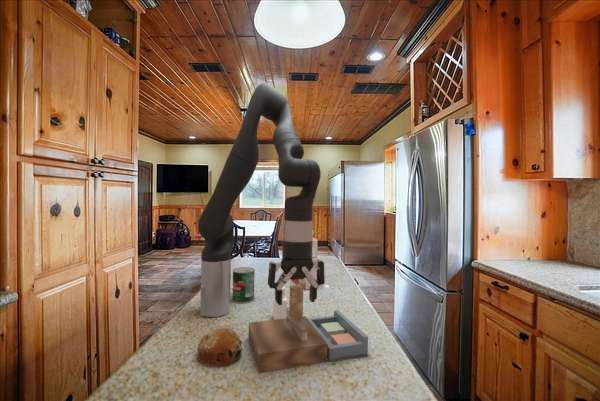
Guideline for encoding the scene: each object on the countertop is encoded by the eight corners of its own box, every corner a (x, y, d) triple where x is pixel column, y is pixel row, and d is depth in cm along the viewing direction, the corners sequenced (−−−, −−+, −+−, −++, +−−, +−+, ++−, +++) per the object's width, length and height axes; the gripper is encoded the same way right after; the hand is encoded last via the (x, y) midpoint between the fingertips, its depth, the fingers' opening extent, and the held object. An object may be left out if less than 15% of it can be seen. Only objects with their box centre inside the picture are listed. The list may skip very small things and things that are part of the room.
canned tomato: (228, 302, 103) (228, 271, 102) (238, 294, 110) (238, 266, 110) (248, 304, 101) (249, 273, 101) (257, 297, 108) (257, 267, 108)
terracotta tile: (357, 342, 71) (357, 348, 71) (348, 332, 76) (348, 338, 76) (339, 344, 70) (339, 351, 70) (330, 335, 75) (330, 341, 75)
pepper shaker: (274, 321, 88) (274, 290, 88) (272, 315, 92) (272, 286, 91) (287, 319, 89) (287, 289, 89) (284, 314, 93) (284, 285, 92)
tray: (329, 361, 67) (329, 342, 67) (305, 329, 83) (306, 313, 83) (367, 355, 70) (368, 336, 70) (337, 324, 86) (337, 309, 86)
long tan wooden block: (298, 343, 67) (299, 296, 67) (283, 318, 80) (284, 279, 80) (310, 341, 68) (310, 294, 68) (293, 317, 81) (293, 278, 81)
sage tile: (344, 329, 78) (344, 335, 78) (336, 321, 83) (336, 327, 83) (327, 331, 77) (327, 337, 77) (320, 323, 81) (320, 329, 81)
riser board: (258, 372, 62) (258, 354, 62) (248, 337, 77) (248, 322, 77) (327, 360, 67) (327, 343, 67) (304, 330, 82) (305, 316, 82)
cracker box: (290, 281, 129) (291, 234, 129) (302, 279, 132) (303, 234, 132) (304, 290, 117) (305, 239, 116) (317, 288, 119) (318, 238, 119)
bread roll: (229, 356, 75) (222, 325, 77) (254, 352, 69) (245, 318, 71) (194, 374, 67) (187, 338, 69) (218, 371, 61) (209, 332, 63)
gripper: (318, 236, 78) (317, 295, 78) (266, 236, 74) (265, 299, 74) (329, 240, 71) (327, 305, 71) (272, 241, 67) (271, 311, 67)
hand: (295, 302), depth 73 cm, fingers open, 8 cm apart
